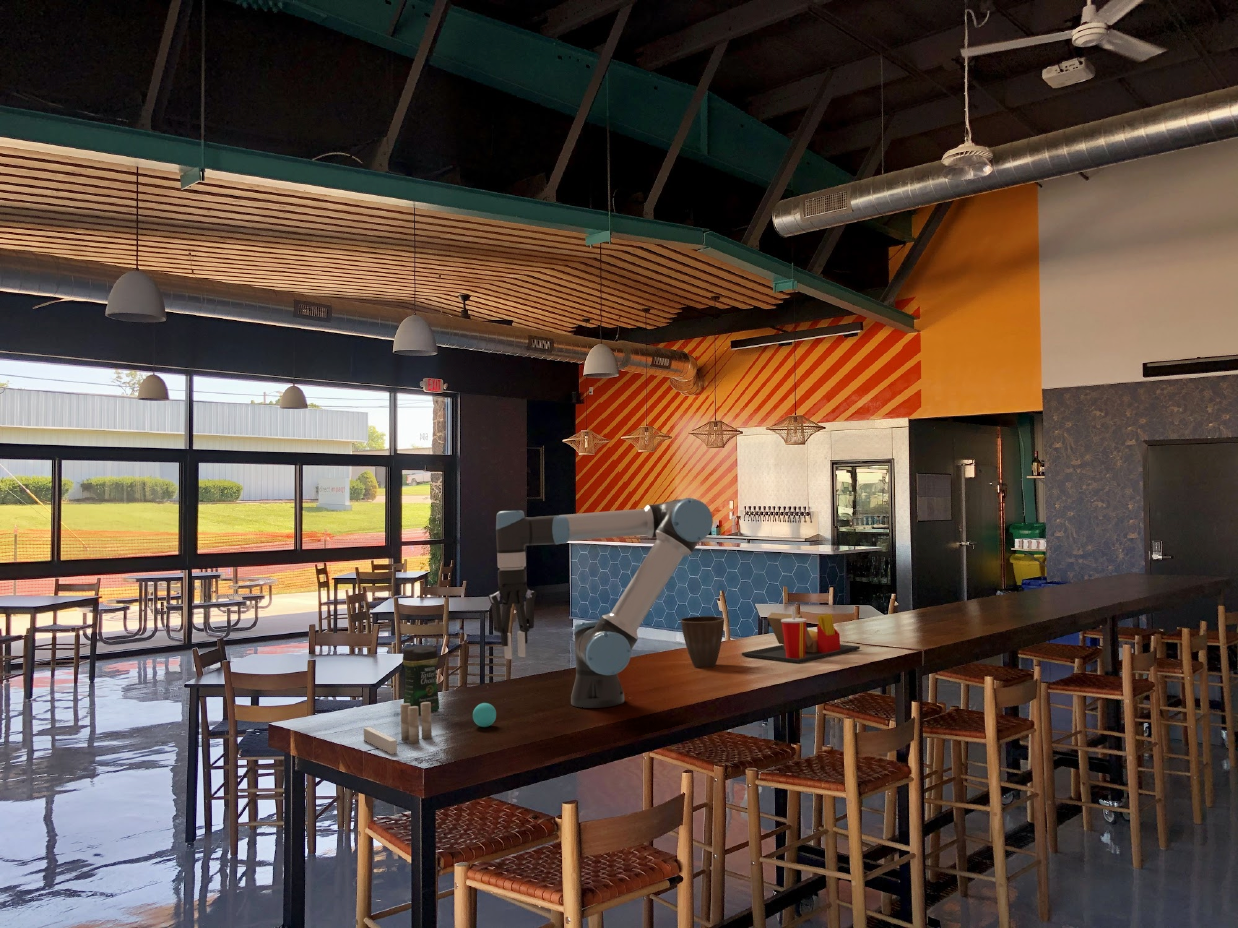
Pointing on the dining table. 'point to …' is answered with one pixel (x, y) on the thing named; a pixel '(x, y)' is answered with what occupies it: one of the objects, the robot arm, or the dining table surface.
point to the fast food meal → (801, 639)
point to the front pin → (426, 720)
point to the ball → (484, 715)
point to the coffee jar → (421, 676)
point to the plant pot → (703, 639)
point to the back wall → (380, 740)
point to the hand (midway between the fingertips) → (515, 657)
